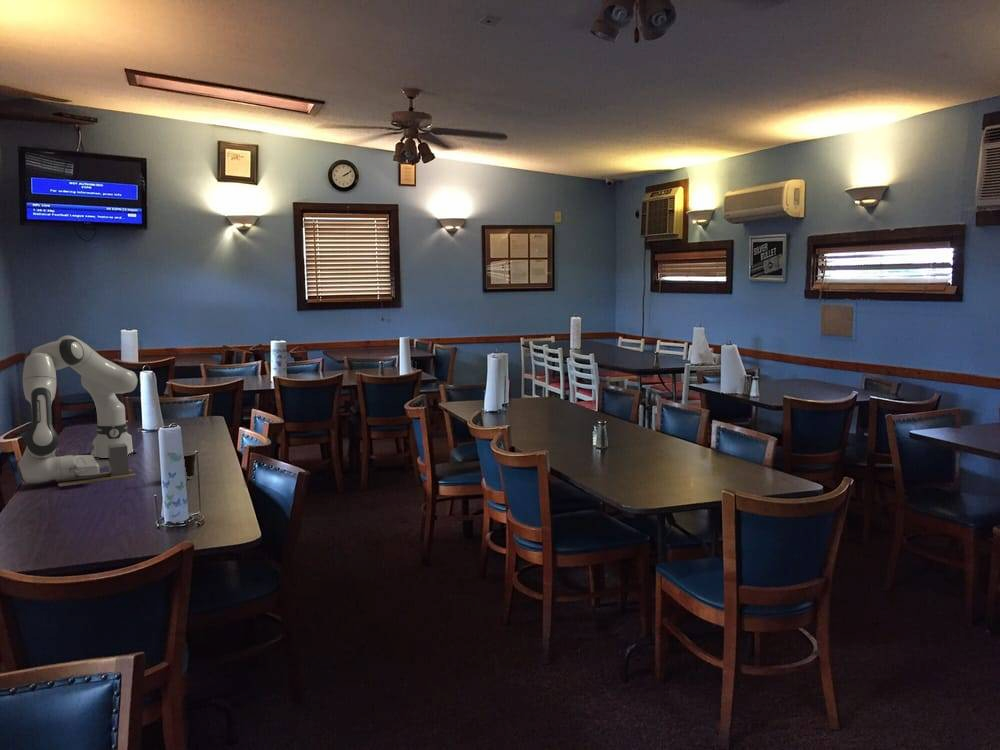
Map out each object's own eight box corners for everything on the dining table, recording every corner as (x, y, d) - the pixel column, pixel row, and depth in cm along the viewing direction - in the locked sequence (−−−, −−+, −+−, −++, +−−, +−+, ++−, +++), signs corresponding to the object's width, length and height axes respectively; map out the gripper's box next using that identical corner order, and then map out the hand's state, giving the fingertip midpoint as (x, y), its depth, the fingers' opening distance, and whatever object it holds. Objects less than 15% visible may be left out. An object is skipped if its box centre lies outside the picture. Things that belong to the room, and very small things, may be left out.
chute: (56, 484, 289) (56, 478, 289) (131, 474, 304) (131, 469, 303) (58, 489, 281) (58, 484, 281) (136, 479, 296) (135, 474, 295)
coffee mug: (191, 481, 294) (190, 456, 292) (169, 481, 294) (168, 456, 292) (203, 474, 305) (202, 449, 304) (181, 474, 305) (180, 449, 304)
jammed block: (109, 475, 297) (107, 445, 296) (126, 473, 301) (124, 443, 299) (111, 478, 292) (109, 447, 291) (128, 476, 296) (127, 446, 294)
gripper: (71, 464, 278) (113, 459, 285) (65, 454, 294) (105, 449, 302) (72, 481, 278) (114, 476, 286) (66, 470, 295) (106, 465, 303)
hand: (109, 462), depth 294 cm, fingers closed, pressing on jammed block
